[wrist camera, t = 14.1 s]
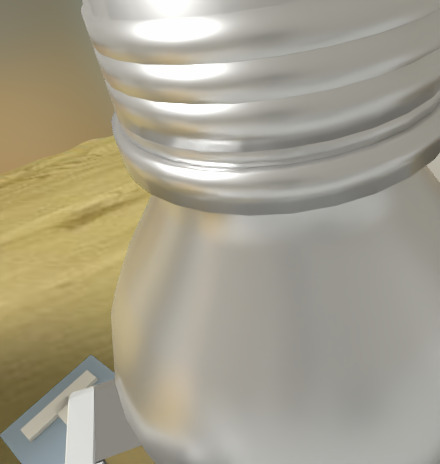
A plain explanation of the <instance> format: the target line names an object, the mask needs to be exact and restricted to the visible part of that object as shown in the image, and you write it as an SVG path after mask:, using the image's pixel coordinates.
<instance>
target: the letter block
mask: <svg viewBox="0 0 440 464" xmlns="http://www.w3.org/2000/svg"><path fill="white" fill-rule="evenodd" d="M113 379H115V373H114V372H113V371H111V370H110V369H109V368H108V367H106V366H105V365H104V364H102V363H101V362H100V361H99V360H97V359H96V358H95V357H93V356H92V355H90V356H89V357H88V358H86V359H85V360H84V361H83V362H82V363H81V364H80V365H78V366H77V367H76V368H75V369H74V370H73V371H72V372H70V373H69V374H68V375H67V376H66V377H65V378H64V379H63V380H61V381H60V382H59V383H58V384H57V385H56V386H55V387H53V388H52V389H51V390H50V391H49V392H48V393H47V394H45V395H44V396H43V397H42V398H41V399H40V400H39V401H37V402H36V403H35V404H34V405H33V406H32V407H31V408H30V409H28V410H27V411H26V412H25V413H24V414H23V415H22V416H20V417H19V418H18V419H17V420H16V421H15V422H14V423H12V424H11V425H10V426H9V427H8V428H7V429H6V430H4V431H3V432H2V433H1V434H0V437H1V438H2V439H3V441H4V442H5V443H6V445H7V446H8V447H9V448H10V450H11V451H12V452H13V454H14V455H15V456H16V458H17V459H18V460H19V461H20V463H21V464H65V454H66V435H67V416H68V401H69V398H70V395H71V393H72V392H76V391H79V390H82V389H85V388H88V387H91V386H94V385H97V384H100V383H103V382H106V381H109V380H113Z"/></svg>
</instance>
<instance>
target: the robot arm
mask: <svg viewBox="0 0 440 464" xmlns="http://www.w3.org/2000/svg"><path fill="white" fill-rule="evenodd" d="M65 464H155V462H154V461H153V460H152V459H151V457H150V456H149V455H148V454H147V453H146V452H145V450H144V448H143V446H142V445H141V443H140V441H139V440H138V438H137V436H136V434H135V433H134V431H133V429H132V428H131V426H130V424H129V422H128V421H127V419H126V417H125V414H124V410H123V407H122V404H121V400H120V397H119V394H118V390H117V387H116V383H115V379H113V380H109V381H106V382H103V383H100V384H97V385H94V386H91V387H88V388H85V389H82V390H79V391H76V392H72V393H71V395H70V398H69V401H68V416H67V435H66V454H65Z"/></svg>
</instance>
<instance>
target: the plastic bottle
mask: <svg viewBox="0 0 440 464" xmlns="http://www.w3.org/2000/svg"><path fill="white" fill-rule="evenodd" d="M82 1H83V5H82V9H81V14H82V16H83V19H84V22H85V25H86V27H87V30H88V33H89V36H90V39H91V42H92V44H93V48H94V51H95V53H96V56H97V59H98V62H99V65H100V68H101V71H102V73H103V76H104V80H105V82H106V85H107V88H108V91H109V94H110V97H111V100H112V103H113V106H114V108H115V112H114V114H113V117H112V128H113V135H114V137H115V140H116V143H117V146H118V149H119V151H120V154H121V157H122V160H123V163H124V166H125V168H126V169H127V171H128V172H129V174H130V176H131V177H132V179H133V180H134V181H135V182H136V183H137V184H138V185H140V186H141V187H142V188H144V189H145V190H146V191H147V192H149V193H150V194H152V195H151V197H150V200H149V202H148V204H147V206H146V208H145V210H144V212H143V215H142V217H141V219H140V221H139V223H138V225H137V228H136V230H135V232H134V234H133V237H132V239H131V241H130V243H129V247H128V250H127V253H126V256H125V260H124V263H123V266H122V269H121V272H120V276H119V279H118V282H117V285H116V290H115V295H114V300H113V306H112V311H111V323H112V342H113V356H114V370H115V383H116V387H117V390H118V394H119V397H120V400H121V404H122V407H123V410H124V414H125V417H126V419H127V421H128V422H129V424H130V426H131V428H132V429H133V431H134V433H135V434H136V436H137V438H138V440H139V441H140V443H141V445H142V446H143V448H144V450H145V452H146V453H147V454H148V455H149V456H150V457H151V459H152V460H153V461H154V462H155V464H440V182H439V181H438V180H437V178H436V177H435V176H434V175H433V173H432V172H431V171H430V169H429V168H428V167H427V166H426V165H427V164H429V163H430V162H431V161H433V160H434V159H435V158H436V157H437V155H438V154H439V153H440V0H82Z"/></svg>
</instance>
